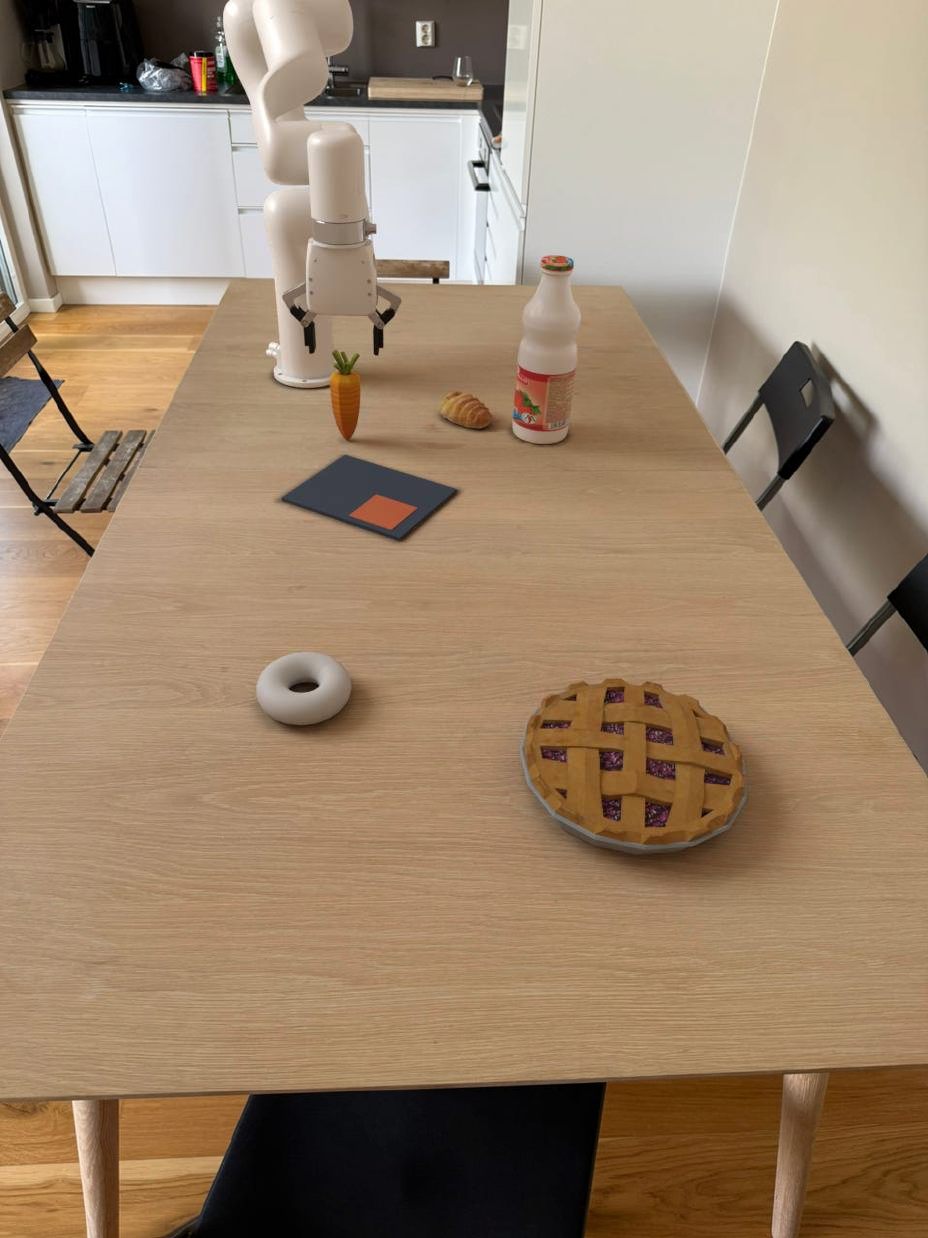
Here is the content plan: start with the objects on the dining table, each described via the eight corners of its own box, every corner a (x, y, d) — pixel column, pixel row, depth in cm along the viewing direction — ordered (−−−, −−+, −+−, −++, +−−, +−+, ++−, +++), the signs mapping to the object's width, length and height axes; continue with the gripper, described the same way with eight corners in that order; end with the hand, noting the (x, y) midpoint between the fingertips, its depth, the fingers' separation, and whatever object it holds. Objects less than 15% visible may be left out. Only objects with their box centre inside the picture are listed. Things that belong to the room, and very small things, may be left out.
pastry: (501, 423, 151) (502, 402, 149) (473, 435, 147) (474, 413, 145) (462, 405, 156) (463, 385, 154) (434, 416, 152) (434, 395, 150)
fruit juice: (569, 446, 145) (592, 270, 128) (512, 444, 145) (527, 267, 128) (565, 421, 153) (586, 251, 136) (510, 419, 153) (524, 248, 136)
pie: (516, 863, 79) (521, 826, 76) (517, 697, 97) (520, 662, 94) (762, 879, 79) (776, 843, 76) (718, 710, 96) (728, 675, 93)
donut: (237, 708, 94) (311, 745, 90) (233, 683, 92) (308, 720, 88) (300, 658, 101) (371, 690, 96) (297, 634, 99) (369, 666, 94)
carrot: (368, 436, 145) (365, 346, 136) (355, 449, 141) (352, 358, 132) (340, 431, 146) (336, 341, 137) (326, 443, 142) (321, 352, 133)
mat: (281, 500, 128) (281, 496, 127) (345, 457, 139) (345, 453, 139) (399, 540, 121) (399, 537, 120) (456, 491, 132) (457, 488, 132)
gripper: (402, 226, 128) (402, 344, 138) (280, 222, 127) (290, 341, 137) (400, 240, 122) (401, 362, 132) (273, 235, 121) (283, 359, 131)
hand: (344, 351), depth 134 cm, fingers open, 9 cm apart
